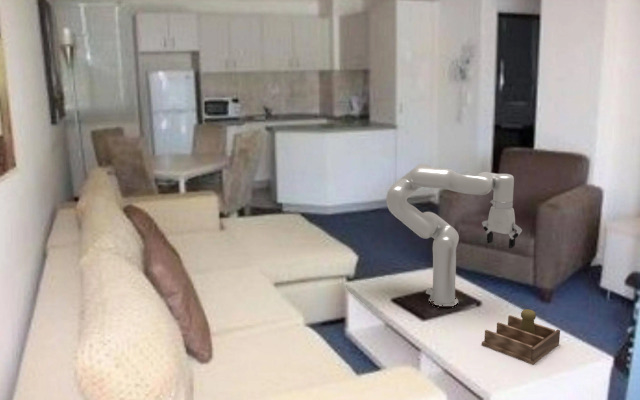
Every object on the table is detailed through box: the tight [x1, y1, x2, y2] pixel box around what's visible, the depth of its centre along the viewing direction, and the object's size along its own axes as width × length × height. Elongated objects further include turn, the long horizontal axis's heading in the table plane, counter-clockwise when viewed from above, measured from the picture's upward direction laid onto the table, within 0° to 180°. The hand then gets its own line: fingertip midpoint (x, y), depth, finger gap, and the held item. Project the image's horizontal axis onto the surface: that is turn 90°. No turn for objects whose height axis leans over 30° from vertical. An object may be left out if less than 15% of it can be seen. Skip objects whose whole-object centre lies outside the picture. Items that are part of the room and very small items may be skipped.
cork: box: [520, 308, 537, 334], centre depth 212 cm, size 6×6×11 cm
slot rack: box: [481, 315, 561, 365], centre depth 210 cm, size 20×20×6 cm
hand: (500, 245), depth 234 cm, fingers open, 9 cm apart
